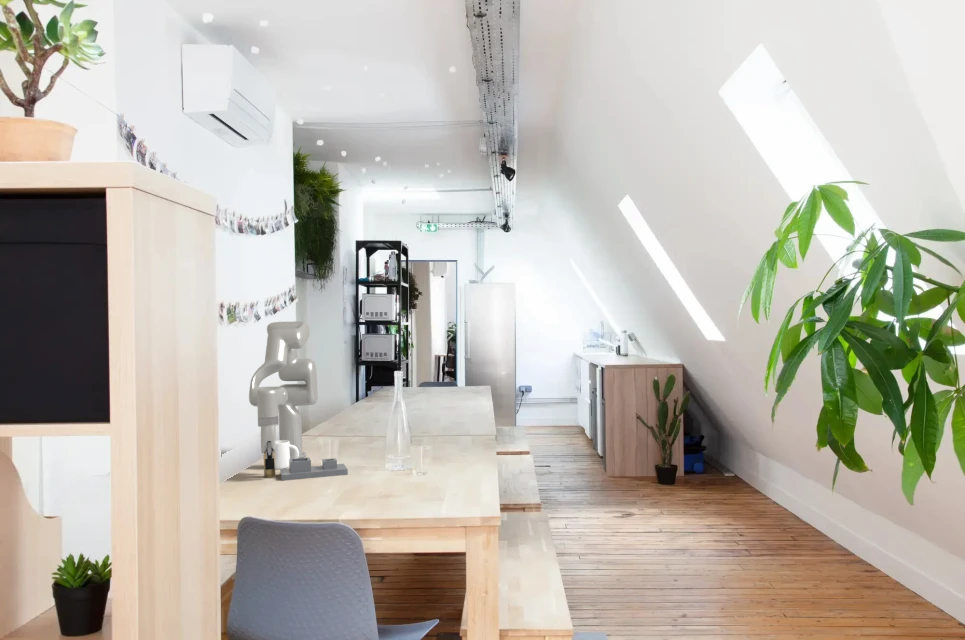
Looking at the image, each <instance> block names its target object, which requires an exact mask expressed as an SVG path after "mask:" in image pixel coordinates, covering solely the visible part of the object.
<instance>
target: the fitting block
mask: <svg viewBox="0 0 965 640" xmlns="http://www.w3.org/2000/svg"><path fill="white" fill-rule="evenodd" d="M321 460H322V461H321V462H322V465H316V466H312V459H311V457H308V456H307V457H302V458H295V459H289V467H288V468H285V469H279V470H280V472H279V473H280V478H281V479H280V480H281V481H289V480H290V481H292V480H302V479H303V480H304V479H315V478H326V477H335V476H344V475H346V476H347V475H348V474H349V471H348V468H347V466H346V465H345V463H338V461H337V459H336V457H335V458H334V457H333V458H324V459H323V458H322V459H321Z"/></svg>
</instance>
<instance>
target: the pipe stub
mask: <svg viewBox="0 0 965 640" xmlns="http://www.w3.org/2000/svg"><path fill="white" fill-rule="evenodd" d="M267 446H268V444H267ZM266 450H267V449H266ZM273 458H274V469H270V470H266V469H265V459H266V453H265V452H263V473H264V474H263V475H264V476H263V477H264V478H265V479H272V478H275V477H276V470H275V452H273Z"/></svg>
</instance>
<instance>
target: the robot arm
mask: <svg viewBox="0 0 965 640" xmlns="http://www.w3.org/2000/svg"><path fill="white" fill-rule="evenodd" d="M310 331H311V330H310V326H309V324H308V322H307V321H302V320H299V321H298V320H297V321H296V320H295V321H276V322H275V321H274V322H271V323H269V324H268V325H267V326H266V332H267V338H266V346H265V347H266V348H265V357H264V362H263V363H262V364H261V366H259V367H258V368H257V370H256V371H255V372H254V373H253V375H252V377H251V380H250V382H249V384H250V386H249V393H248V401H249V403H250V405H252V406H253V407H257V426H258V427H260V452H261V453H262V454H264V452H265V453H266V459H265V469H266V470H270V469H274V458H273V452H275V443H276V441H277V440H276V431H277V430H276V427H278V430H279V431H278V434H279V435H278V437H279V438H278V439H279V440H278V441H280V440H286V441H289V445H294V446H296V447H297V449H298V451H299V457H298V458H306V456H307V453H306V452H304V451H303V430H302V429H303V422H302V414H301V412H300V411H299V410H298V408H297V407H299V406H303V407H305V406H313V405H316V403H317V402H318V398H319V397H318V396H319V395H318V379H317V366H316V363H315V361H314V360H313V359H311V358H298V350H299V349H302V348H304V347H305V344H306V343H307V341H308V339H309V338H310ZM275 373H278V378H279V379H280V380H281V381H283V382H304V383H285V384H282V385H279V386H260V385H261V384H262V382H263V380H265V379H267V378H268V377H269V376H272V375H274V374H275ZM267 444H268V446H267ZM266 449H267V450H266ZM295 456H296V452H295V450H294V449H291V448H290V459H294V458H295Z"/></svg>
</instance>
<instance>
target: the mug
mask: <svg viewBox="0 0 965 640" xmlns="http://www.w3.org/2000/svg"><path fill="white" fill-rule="evenodd" d="M290 448H291V449H294V450H295V452H296V456H295V458H298V457H299V451H298V449H297V447H296V446H294V445H289V441H286V440H280V441H279V440H276V443H275V471H276V470H280V469H288V468H289V459H290ZM295 458H294V459H295Z"/></svg>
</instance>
